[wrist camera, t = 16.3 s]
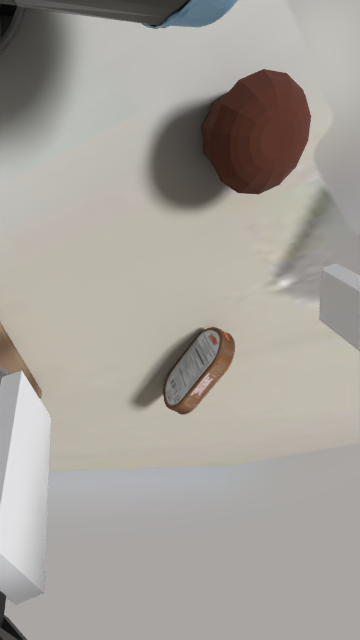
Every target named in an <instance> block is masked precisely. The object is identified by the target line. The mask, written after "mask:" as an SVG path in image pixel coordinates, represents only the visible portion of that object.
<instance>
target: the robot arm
mask: <svg viewBox="0 0 360 640" xmlns="http://www.w3.org/2000/svg"><path fill="white" fill-rule="evenodd" d="M237 1H238V0H0V51H2V50H3V49H4V48H5V47H6V46H7V44H8V43H9V42H10V41H11V39H12V38H13V36H14V35H15V33H16V31H17V29H18V27H19V25H20V22H21V19H22V16H23V12H24V8H31V9H39V10H46V11H54V12H61V13H69V14H76V15H84V16H91V17H99V18H106V19H114V20H121V21H129V22H136V23H141V24H143V25H144V26H146V27H149V28H153V29H158V28H166V27H168V26H183V27H202V26H206V25H209V24H212V23H213V22H215V21H217V20H218V19H220V18H221V17H222V16H223V15H225V14H226V13H227V12H228V11H229V10H230V9H231V8H232V7H233V6H234V4H235V3H236V2H237ZM319 320H321V321H322V322H323V323H324V324H326V325H327V326H328V327H329V328H331V329H332V330H333V331H334V332H336V333H337V334H338V335H340V336H341V337H342V338H343V339H345V340H346V341H347V342H348V343H350V344H351V345H352V346H354V347H355V348H356V349H357V350H359V351H360V276H359V275H357V274H355V273H353V272H351V271H350V270H348V269H346V268H344V267H342V266H340V265H338V264H333V265H330V266H327V267H324V268H321V282H320V318H319ZM50 425H51V417H50V415H49V413H48V412H47V410H46V409H45V407H44V405H43V404H42V402H41V400H40V399H39V397H38V396H37V394H36V392H35V391H34V389H33V387H32V386H31V384H30V383H29V381H28V379H27V378H26V376H25V375H24V373H23V371H22V370H21V371H19V372H16V373H13V374H10V375H7V376H4V377H2V379H1V384H0V640H27V639H26V638H25V637H24V636H23V634H22V633H21V632H20V631H19V630H18V629H17V628H16V626H15V625H14V624H13V623H12V622H11V621H10V620H9V618H8V617H6V616H5V615H4V610H5V600H6V598H8V599H9V600H10V601H11V602H13V603H14V604H15V605H17V604H19V603H22V602H24V601H26V600H29V599H31V598H33V597H36V596H38V595H40V594H43V593H44V581H45V556H46V530H47V501H48V477H49V451H50Z"/></svg>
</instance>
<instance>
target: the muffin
mask: <svg viewBox="0 0 360 640" xmlns="http://www.w3.org/2000/svg"><path fill="white" fill-rule="evenodd" d="M310 121H311V115H310V111H309V107H308V104H307V100H306V96H305V94H304V91H303V89H302V88H301V87H300V86H299V85H298V84H297V83H296V82H295V81H294V80H293V79H292V78H291V77H290V76H289V75H288V74H287V73H282V72H276V71H271V70H265V69H263V70H261V71H258V72H256V73H254V74H251V75H249V76H247V77H245V78H242V79H240V80H239V81H238V82H237V83H236V84H235V85H234V86H233V88H232V89H231V90H230V91H229V92H228V93H226V94H225V95H223V96H222V97H220V98H219V99H217V100H215V101H214V102H212V104H211V107H210V110H209V113H208V116H207V117H206V119H205V121H204V123H203V125H202V126H201V130H202V135H203V149H204V154H205V155H206V156H207V157H208V158H209V159H210V160H211V161H212V163H213V166H214V168H215V170H216V172H217V174H218V176H219V178H220V180H221V181H222V182H223V183H224V184H226V185H227V186H229V187H230V188H232V189H233V190H235V191H236V192H237V193H247V194H260V193H262V192H264V191H267V190H269V189H271V188H273V187H275V186H277V185H279V184H280V183H281V182H282V181H283V180H284V179H285V178H286V177H287V176H288V175H289V174H290V173H291V171H292V170H293V169H294V168H295V167H296V166H297V164H298V161H299V159H300V157H301V155H302V153H303V150H304V148H305V146H306V144H307V142H308V137H309V129H310Z"/></svg>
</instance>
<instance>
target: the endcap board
mask: <svg viewBox="0 0 360 640" xmlns="http://www.w3.org/2000/svg"><path fill="white" fill-rule="evenodd" d="M21 370H22V371H23V373H24V375H25V376H26V378H27V379H28V381H29V383H30V384H31V386H32V387H33V389H34V391H35V392H36V394H37V396H38V397H39V399H40V398H41V395H42V391H41V389H40V388H39V386H38V384H37V383H36V381H35V379H34V378H33V376H32V374H31V373H30V371H29V369H28V368H27V366H26V364H25V363H24V361H23V359H22V358H21V356H20V354H19V353H18V351H17V349H16V348H15V346H14V344H13V343H12V341H11V339H10V338H9V336H8V334H7V333H6V331H5V329H4V328H3V326H2V324H1V323H0V384H1V379H2V377H4V376H7V375H10V374H13V373H16V372H19V371H21Z"/></svg>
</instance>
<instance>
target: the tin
mask: <svg viewBox="0 0 360 640" xmlns="http://www.w3.org/2000/svg"><path fill="white" fill-rule="evenodd" d="M234 352H235V343H234V339H233V337H232V336H231V335H230V334H229V333H226V332H224V331H222V330H220V329H218V328H215V327H212V328H208V329H206V330H204V331H203V332H201V333H200V334H199V335H198V336H197V338H196V339H195V340H194V341H193V343H192V344H191V345H190V347H189V348H188V349H187V350H186V352H185V353H184V354H183V355H182V357H181V358H180V359H179V361H178V362H177V363H176V364H175V366H174V367H173V368H172V370H171V371H170V373H169V374H168V376H167V379H166V381H165V384H164V389H163V396H164V401H165V404H166V406H167V407H168V408H169V409H171V410H174V411H176V412H178V413H179V414H188V413H190V412H191V411H193V410H194V409H195V408H196V407H197V405H198V404H199V403H200V402H201V401H202V399H203V398H204V397H205V396H206V395H207V394H208V392H209V391H210V390H211V389H212V388H213V386H214V385H215V384H216V383H217V382H218V381H219V379H220V378H221V377H222V376H223V375H224V374H225V372H226V371H227V370H228V368H229V366H230V364H231V362H232V360H233V357H234Z"/></svg>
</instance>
